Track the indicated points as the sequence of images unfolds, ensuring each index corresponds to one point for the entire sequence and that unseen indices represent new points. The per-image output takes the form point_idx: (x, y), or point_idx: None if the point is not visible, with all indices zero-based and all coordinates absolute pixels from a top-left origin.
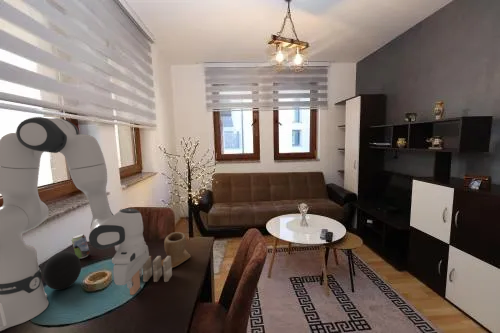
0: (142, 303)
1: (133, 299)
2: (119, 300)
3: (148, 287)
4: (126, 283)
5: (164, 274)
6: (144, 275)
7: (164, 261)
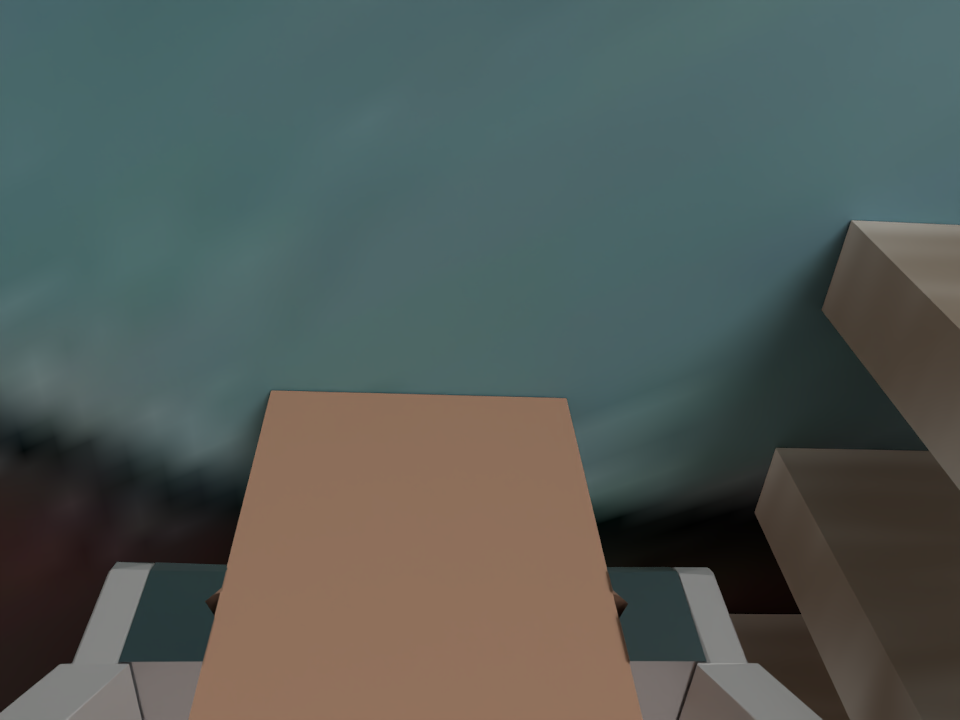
0: (50, 671)
1: (126, 512)
2: (30, 262)
3: None
4: (33, 688)
5: None
6: (821, 587)
7: None
